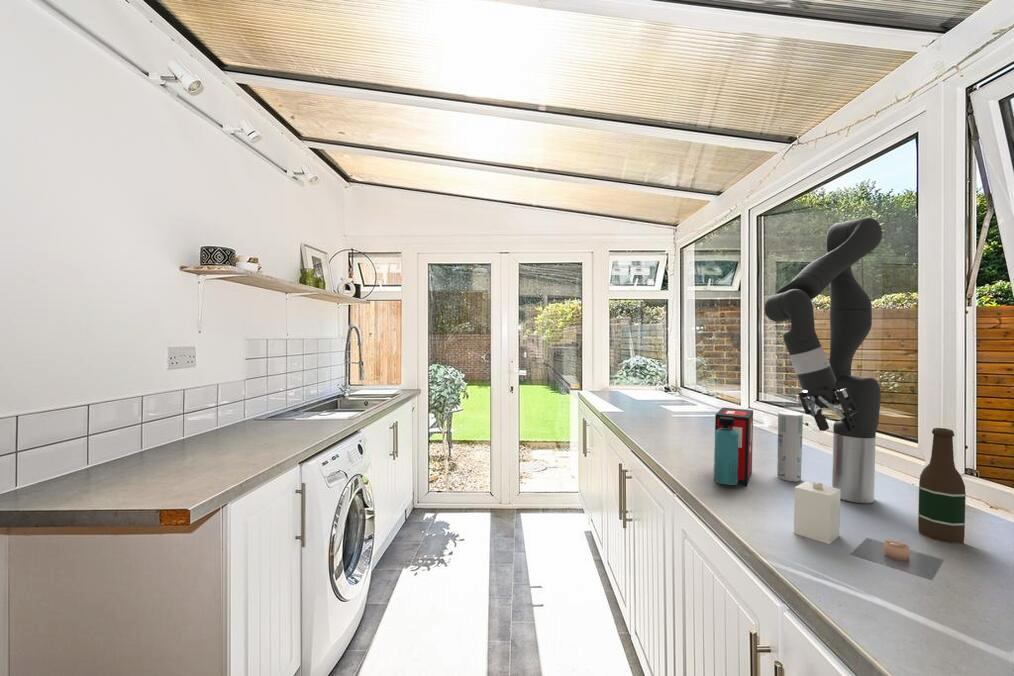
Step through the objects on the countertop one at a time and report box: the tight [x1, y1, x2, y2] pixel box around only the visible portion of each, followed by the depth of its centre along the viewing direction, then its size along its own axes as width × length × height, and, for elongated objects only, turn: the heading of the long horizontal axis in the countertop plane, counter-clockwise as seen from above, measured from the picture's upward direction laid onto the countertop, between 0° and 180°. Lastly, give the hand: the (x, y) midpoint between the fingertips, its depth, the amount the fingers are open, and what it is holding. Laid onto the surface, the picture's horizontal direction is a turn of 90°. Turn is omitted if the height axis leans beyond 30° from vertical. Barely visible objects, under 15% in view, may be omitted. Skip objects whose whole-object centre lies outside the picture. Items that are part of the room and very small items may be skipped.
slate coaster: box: [849, 537, 944, 581], centre depth 90 cm, size 12×12×1 cm
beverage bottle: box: [713, 417, 739, 486], centre depth 133 cm, size 6×7×20 cm
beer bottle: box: [917, 427, 967, 545], centre depth 100 cm, size 8×8×24 cm
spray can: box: [776, 411, 804, 482], centre depth 142 cm, size 6×6×20 cm
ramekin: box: [883, 539, 911, 562], centre depth 90 cm, size 4×4×2 cm
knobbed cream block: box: [793, 480, 841, 545], centre depth 100 cm, size 7×7×11 cm
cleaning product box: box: [713, 407, 754, 487], centre depth 143 cm, size 16×9×20 cm, turn 148°
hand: (837, 431), depth 112 cm, fingers open, 8 cm apart
